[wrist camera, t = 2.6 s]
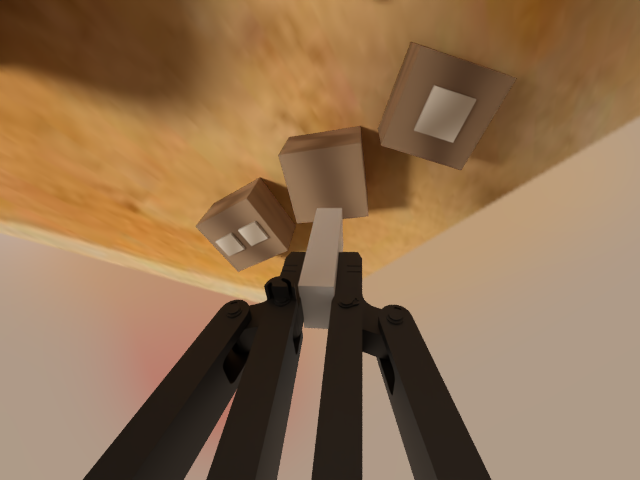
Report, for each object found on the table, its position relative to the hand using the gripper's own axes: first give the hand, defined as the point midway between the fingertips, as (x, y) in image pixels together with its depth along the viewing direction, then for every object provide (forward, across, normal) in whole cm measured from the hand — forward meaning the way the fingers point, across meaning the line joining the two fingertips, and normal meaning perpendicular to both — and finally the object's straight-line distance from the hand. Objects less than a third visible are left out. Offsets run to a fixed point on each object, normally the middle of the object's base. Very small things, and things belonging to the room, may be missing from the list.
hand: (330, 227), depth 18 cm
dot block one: (+14, +8, +4) cm, 17 cm away
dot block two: (+14, -10, -7) cm, 19 cm away
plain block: (+14, -1, -2) cm, 14 cm away
